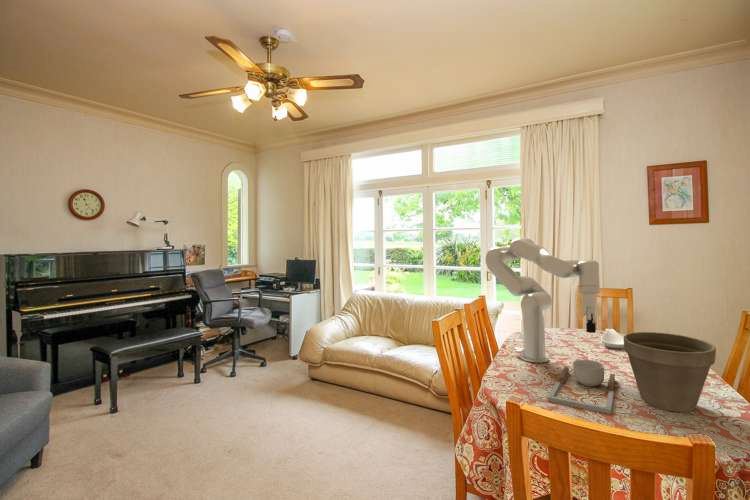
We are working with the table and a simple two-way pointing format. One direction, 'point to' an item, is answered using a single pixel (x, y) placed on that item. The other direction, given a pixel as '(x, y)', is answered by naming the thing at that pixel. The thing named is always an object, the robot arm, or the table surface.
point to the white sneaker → (612, 339)
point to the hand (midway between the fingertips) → (591, 332)
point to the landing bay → (581, 404)
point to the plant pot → (669, 368)
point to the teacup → (588, 372)
